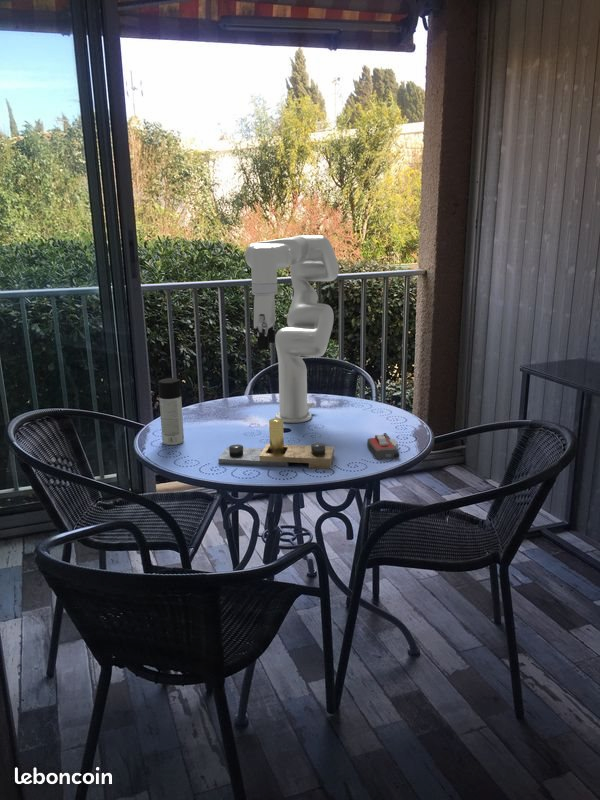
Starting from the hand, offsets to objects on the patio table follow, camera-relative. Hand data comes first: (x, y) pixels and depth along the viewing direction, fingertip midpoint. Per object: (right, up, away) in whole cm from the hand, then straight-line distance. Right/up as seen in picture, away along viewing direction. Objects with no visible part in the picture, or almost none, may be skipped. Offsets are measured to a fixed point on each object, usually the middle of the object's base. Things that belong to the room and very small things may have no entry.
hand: (266, 345), depth 201 cm
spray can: (-30, -30, +7) cm, 42 cm away
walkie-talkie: (+35, -31, 0) cm, 47 cm away
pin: (+3, -34, -9) cm, 35 cm away
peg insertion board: (+3, -34, -9) cm, 35 cm away
